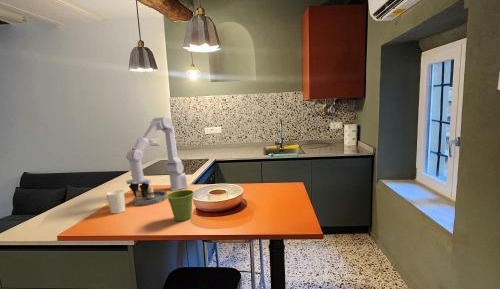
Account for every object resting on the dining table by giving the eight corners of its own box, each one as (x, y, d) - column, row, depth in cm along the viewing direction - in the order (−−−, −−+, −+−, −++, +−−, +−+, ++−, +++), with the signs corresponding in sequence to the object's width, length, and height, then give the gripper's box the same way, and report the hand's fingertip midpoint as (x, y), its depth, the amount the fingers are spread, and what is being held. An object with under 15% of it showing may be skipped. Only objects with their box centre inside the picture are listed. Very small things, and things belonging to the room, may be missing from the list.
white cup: (106, 213, 145) (102, 194, 144) (119, 207, 152) (116, 189, 151) (116, 215, 142) (113, 195, 140) (130, 209, 148) (127, 190, 147)
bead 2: (154, 194, 168) (152, 185, 167) (154, 196, 164) (153, 187, 163) (145, 195, 166) (144, 187, 166) (146, 198, 162) (144, 189, 161)
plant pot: (200, 218, 127) (197, 193, 126) (173, 226, 122) (170, 200, 120) (192, 210, 138) (189, 187, 136) (166, 217, 132) (163, 193, 130)
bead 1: (140, 198, 160) (139, 189, 159) (147, 198, 159) (146, 189, 158) (135, 201, 156) (133, 192, 155) (142, 201, 154) (140, 192, 154)
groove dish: (165, 192, 172) (165, 188, 172) (169, 200, 156) (168, 196, 155) (133, 198, 166) (133, 194, 165) (133, 208, 149) (132, 203, 149)
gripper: (120, 174, 154) (124, 199, 156) (143, 174, 149) (147, 199, 151) (130, 170, 160) (133, 194, 162) (152, 170, 155) (155, 195, 157)
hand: (141, 197), depth 157 cm, fingers closed on bead 1, 4 cm apart
